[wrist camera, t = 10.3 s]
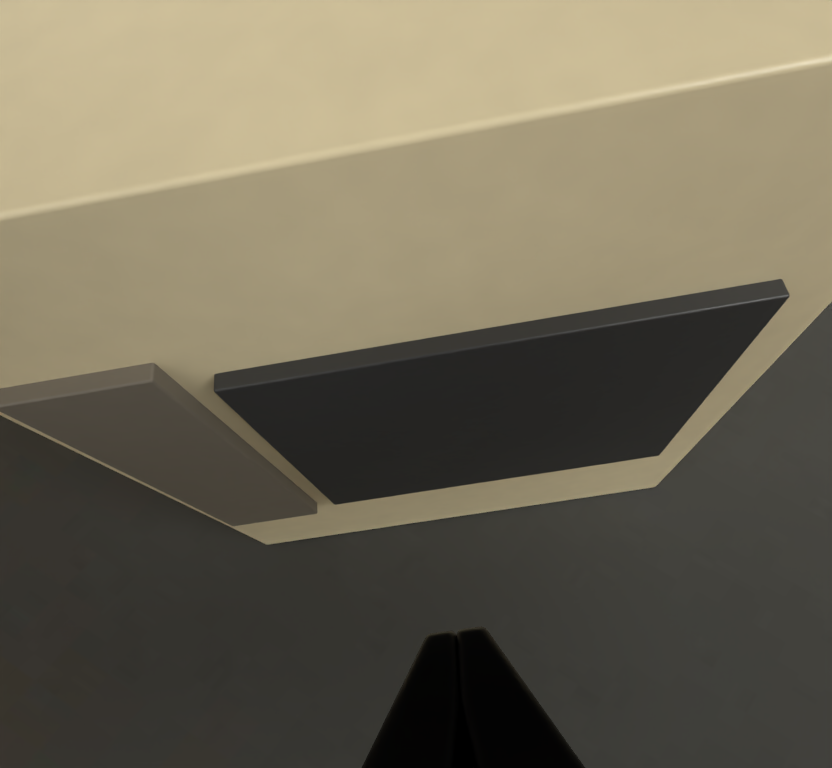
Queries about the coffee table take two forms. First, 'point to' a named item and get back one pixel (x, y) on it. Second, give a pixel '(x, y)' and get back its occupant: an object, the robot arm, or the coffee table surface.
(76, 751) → the coffee table surface
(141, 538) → the coffee table surface
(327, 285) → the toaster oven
